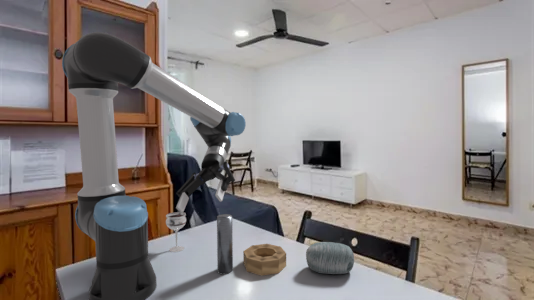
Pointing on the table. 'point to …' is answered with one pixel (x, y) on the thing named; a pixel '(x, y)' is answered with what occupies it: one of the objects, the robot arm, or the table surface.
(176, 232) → the wineglass
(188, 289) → the table surface
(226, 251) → the rod
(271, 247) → the brown thick faceted ring
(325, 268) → the grey yarn skein
